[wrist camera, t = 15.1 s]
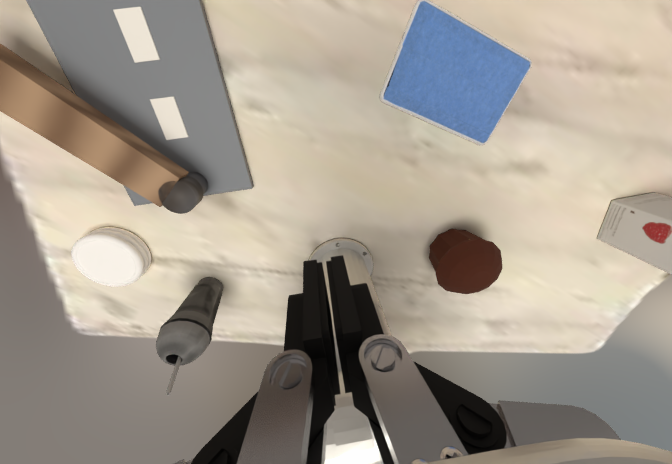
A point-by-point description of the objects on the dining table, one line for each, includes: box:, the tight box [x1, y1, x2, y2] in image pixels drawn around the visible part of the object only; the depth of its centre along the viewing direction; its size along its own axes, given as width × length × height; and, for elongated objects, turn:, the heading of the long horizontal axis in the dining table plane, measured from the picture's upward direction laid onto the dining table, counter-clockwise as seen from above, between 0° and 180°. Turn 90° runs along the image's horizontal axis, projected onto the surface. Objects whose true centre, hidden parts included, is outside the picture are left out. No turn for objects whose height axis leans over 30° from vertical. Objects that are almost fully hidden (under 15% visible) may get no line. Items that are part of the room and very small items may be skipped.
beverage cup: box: [156, 277, 223, 395], centre depth 40 cm, size 7×7×20 cm
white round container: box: [71, 227, 151, 287], centre depth 42 cm, size 10×10×4 cm
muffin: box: [429, 229, 502, 294], centre depth 46 cm, size 12×11×10 cm
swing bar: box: [0, 44, 203, 214], centre depth 30 cm, size 26×5×3 cm, turn 48°
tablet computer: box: [379, 0, 532, 145], centre depth 37 cm, size 19×13×1 cm, turn 69°
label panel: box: [26, 0, 254, 206], centre depth 32 cm, size 26×18×4 cm
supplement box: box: [597, 192, 672, 275], centre depth 45 cm, size 9×9×15 cm
